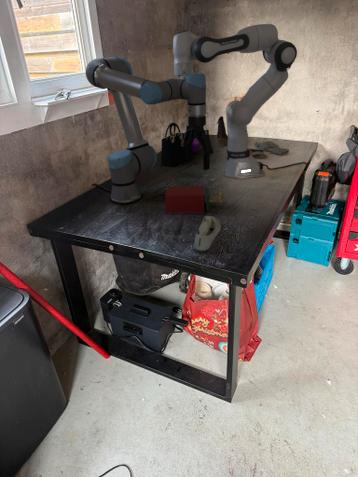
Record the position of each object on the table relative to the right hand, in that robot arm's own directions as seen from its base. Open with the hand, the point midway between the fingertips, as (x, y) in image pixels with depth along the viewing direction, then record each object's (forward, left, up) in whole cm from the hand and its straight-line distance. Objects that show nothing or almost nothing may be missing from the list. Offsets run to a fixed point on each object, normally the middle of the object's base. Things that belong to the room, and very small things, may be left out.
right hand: (184, 101), depth 164 cm
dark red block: (+2, +36, -42) cm, 55 cm away
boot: (-29, -76, -42) cm, 92 cm away
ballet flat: (-5, +65, -42) cm, 77 cm away
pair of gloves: (-51, -46, -42) cm, 81 cm away
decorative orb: (-4, -56, -42) cm, 70 cm away
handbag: (+8, -36, -42) cm, 56 cm away
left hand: (-4, +34, -22) cm, 41 cm away
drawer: (-3, +37, -41) cm, 55 cm away
